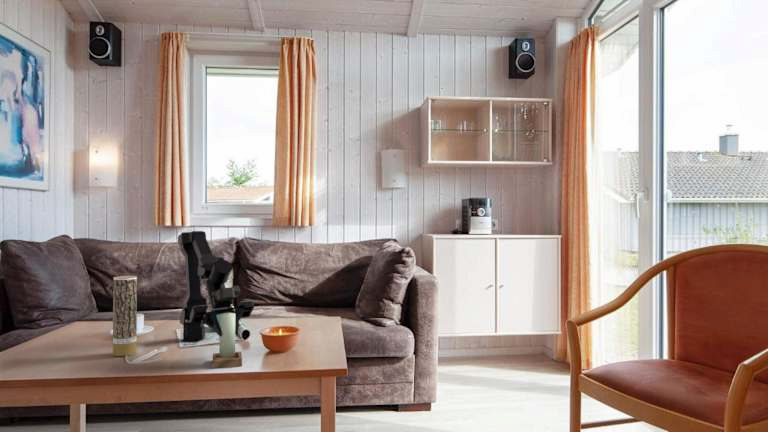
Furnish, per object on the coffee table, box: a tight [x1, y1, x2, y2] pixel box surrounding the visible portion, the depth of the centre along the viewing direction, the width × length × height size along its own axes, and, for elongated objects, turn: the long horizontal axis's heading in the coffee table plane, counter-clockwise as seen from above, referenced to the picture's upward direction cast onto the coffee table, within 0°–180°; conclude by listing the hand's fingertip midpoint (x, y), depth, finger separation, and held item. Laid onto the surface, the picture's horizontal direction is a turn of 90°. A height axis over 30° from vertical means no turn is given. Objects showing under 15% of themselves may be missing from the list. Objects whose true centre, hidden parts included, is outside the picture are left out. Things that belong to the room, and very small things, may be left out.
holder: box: [211, 351, 243, 369], centre depth 152 cm, size 8×8×2 cm
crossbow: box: [125, 346, 168, 365], centre depth 158 cm, size 16×13×2 cm
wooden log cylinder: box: [112, 275, 138, 357], centre depth 161 cm, size 7×7×25 cm
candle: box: [218, 312, 236, 357], centre depth 152 cm, size 5×5×13 cm
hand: (228, 334), depth 151 cm, fingers closed on candle, 5 cm apart
